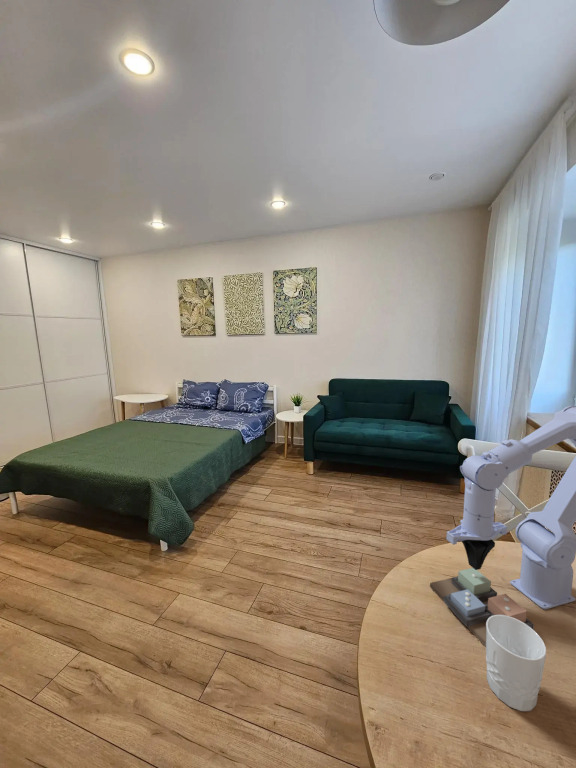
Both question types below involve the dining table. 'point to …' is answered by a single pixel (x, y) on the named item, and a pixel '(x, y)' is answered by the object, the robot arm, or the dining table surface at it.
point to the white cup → (514, 661)
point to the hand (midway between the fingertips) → (474, 566)
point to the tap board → (473, 622)
